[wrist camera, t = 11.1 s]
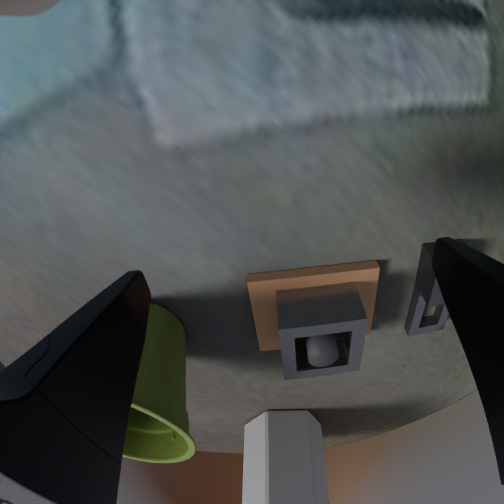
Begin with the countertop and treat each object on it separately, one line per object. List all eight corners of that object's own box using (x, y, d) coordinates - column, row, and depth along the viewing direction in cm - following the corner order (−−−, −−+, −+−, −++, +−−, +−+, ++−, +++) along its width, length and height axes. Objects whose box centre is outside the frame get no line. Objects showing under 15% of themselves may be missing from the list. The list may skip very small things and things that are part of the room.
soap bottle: (244, 436, 40) (239, 573, 22) (245, 408, 35) (239, 578, 17) (314, 435, 41) (323, 569, 22) (327, 407, 36) (344, 570, 17)
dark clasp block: (461, 239, 22) (479, 259, 19) (438, 320, 27) (449, 342, 25) (422, 243, 22) (438, 265, 20) (404, 327, 27) (413, 350, 25)
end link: (354, 281, 23) (367, 318, 20) (349, 334, 26) (359, 370, 23) (275, 290, 24) (278, 329, 20) (282, 342, 27) (284, 379, 24)
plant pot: (232, 309, 26) (222, 433, 17) (187, 377, 32) (171, 471, 23) (100, 253, 23) (34, 362, 14) (85, 336, 29) (47, 425, 20)
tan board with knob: (376, 260, 23) (399, 308, 19) (366, 330, 28) (381, 377, 23) (247, 274, 24) (244, 327, 19) (260, 342, 28) (259, 392, 24)
